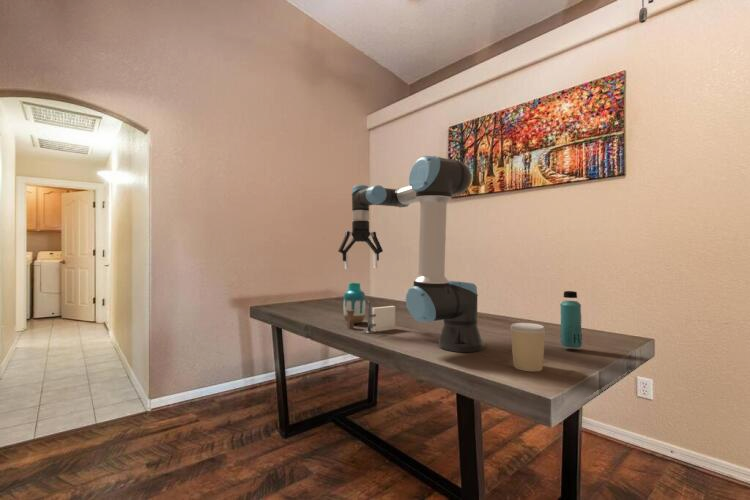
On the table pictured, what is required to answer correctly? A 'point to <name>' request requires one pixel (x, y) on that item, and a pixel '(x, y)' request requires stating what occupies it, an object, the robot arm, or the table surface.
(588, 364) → the table surface
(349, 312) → the stile post
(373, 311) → the gate
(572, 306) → the beverage bottle
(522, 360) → the coffee cup
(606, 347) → the table surface
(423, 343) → the table surface
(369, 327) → the hinge post
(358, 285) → the vase
